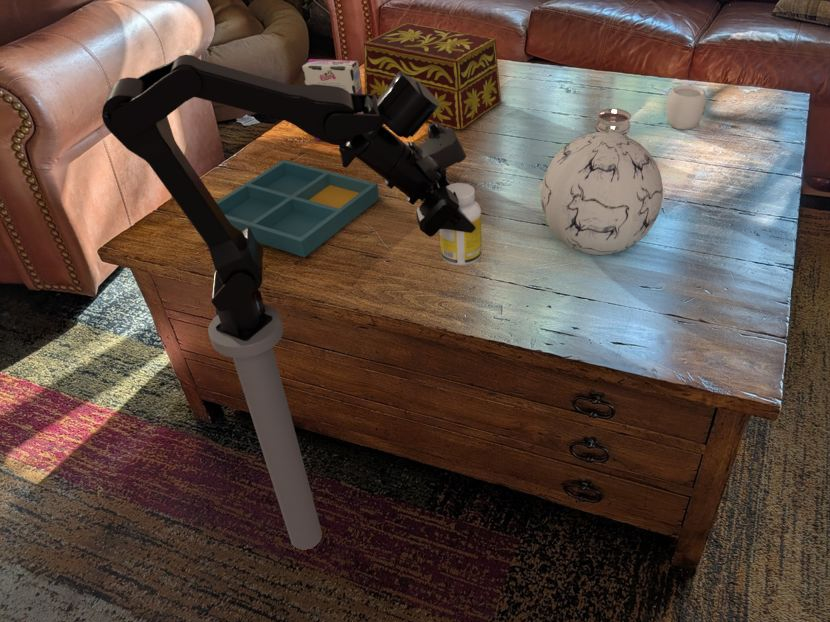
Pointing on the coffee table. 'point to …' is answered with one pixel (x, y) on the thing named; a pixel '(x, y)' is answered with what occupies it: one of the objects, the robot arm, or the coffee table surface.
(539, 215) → the coffee table surface
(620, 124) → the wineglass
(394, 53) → the decorative box
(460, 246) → the pill bottle
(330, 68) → the candy bar box
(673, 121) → the mug
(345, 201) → the tray
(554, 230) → the decorative sphere
